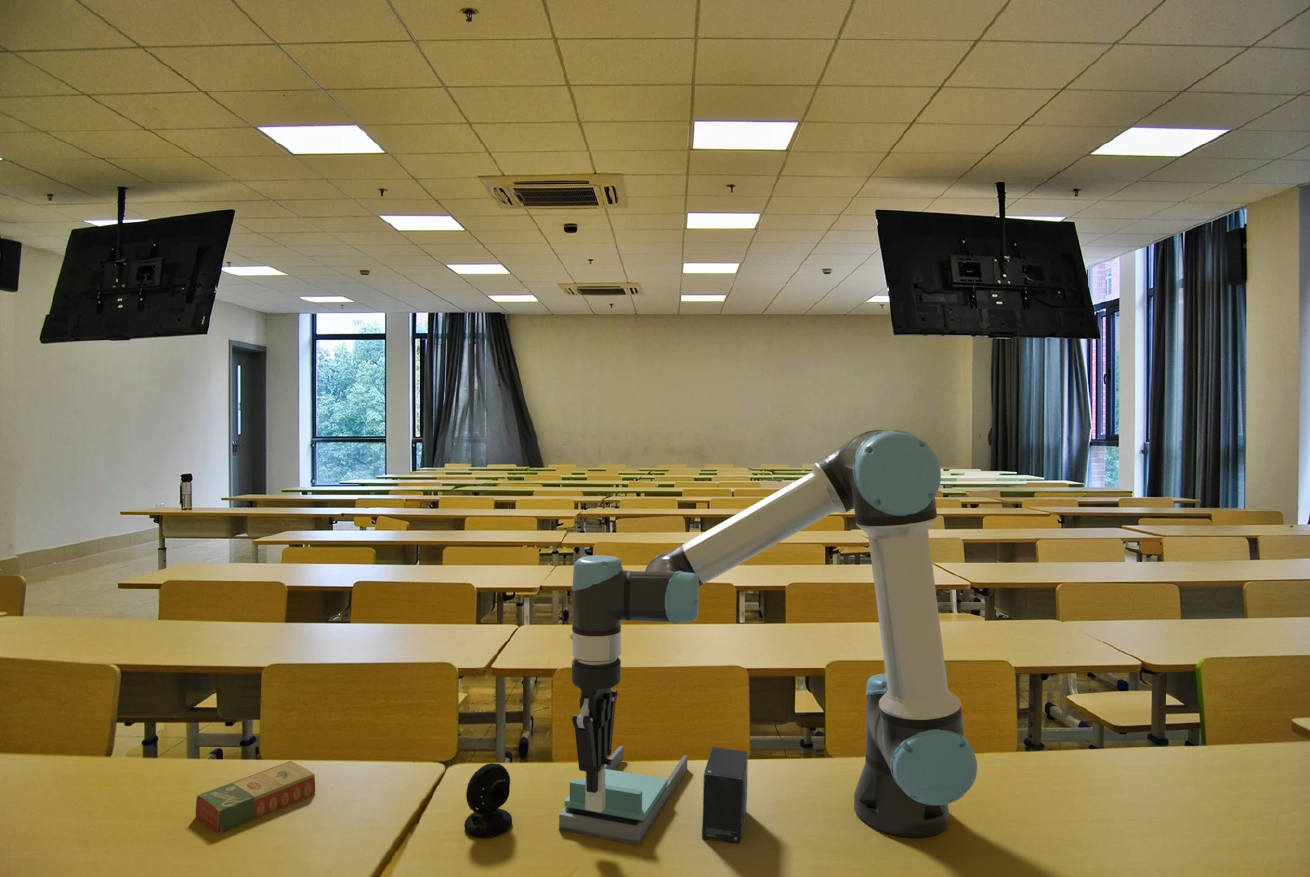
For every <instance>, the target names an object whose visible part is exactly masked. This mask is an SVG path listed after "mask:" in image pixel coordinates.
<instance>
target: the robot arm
mask: <svg viewBox="0 0 1310 877" xmlns="http://www.w3.org/2000/svg"><path fill="white" fill-rule="evenodd" d="M941 472H942V471H941V466H940V462H939V460H938V457H937V456H936V453H935V451H933V449H932V448H931V447H930V446H929V445H928V444H927V443H926V442H925V441H923V439H921V438H919V437H917V436H916V435H914V434H912V433H909V432H907V431H904V430H897V429H894V430H893V429H892V430H891V429H890V430H888V429H886V430H883V429H880V430H879V429H878V430H877V429H874V430H873V429H872V430H867V431H865V432H862V433H860V434H858V435H856V436H854V437H853V438H851V439H850V440H849V441H847V442H845V443H844V444H843V445H842V446H841V447H840V446H839V447H838V448H837V449H836V450H834V451H833V452H831V453H829V454H828V455H826V456H825V457H823V458H822V459H820V460H818V461H817V462H815V463H813V467H812V470H811V471H810V472H809V473H807V474H806V475H804V476H802V477H800V478H799V479H797V480H794V481H793V482H791V483H790V484H788V485H786V486H785V487H782V488H780V489H778V491H775V492H774V493H771V494H770V495H769V496H767V497H765V498H763V499H761V500H760V501H758V502H755V503H754V504H752V505H751V506H749V507H747V508H745V509H743V510H742V511H740V512H738V513H737V514H734V515H733V516H731V517H729V518H727V519H726V520H724V521H723V522H720V523H718V524H716V525H715V526H713V527H712V528H709V529H708V530H706V531H704V532H703V533H701V534H699V535H697V536H695V537H693V538H692V539H690V540H688V541H686V542H684V543H683V544H682V545H680V546H677V547H676V548H674V549H673V550H670V551H669V552H666V553H665V552H664V553H661V554H658V555H657V556H655V557H654V558H652V559H651V560H650V562H649V563H648V564H647V565H646V568H645V570H644V571H643V570H640V571H639V570H637V571H632V570H628V569H627V570H625V569H623V566H622V561H621V559H620V558H619V557H617V556H613V555H605V554H598V555H597V554H595V555H587V556H585V555H584V556H582V557H579V558H578V559H576V561H575V562H574V563H573V571H572V572H573V573H572V574H573V575H572V577H573V578H572V586H571V601H572V602H571V603H572V604H571V608H572V609H571V610H572V611H571V612H572V613H571V614H572V617H571V618H572V621H571V622H572V623H571V624H572V625H571V626H572V627H571V629H572V632H571V634H570V635H569V638H570V640H572V641H571V642H572V645H571V648H572V651H571V655H572V657H574V658H573V659H572V660H571V682H572V684H573V686H574V685H575V687H577V688H579V689H580V691H581V692H580V697H579V709H580V711H579V714H576V713H575V714H573V715H572V717H571V718H572V719H571V721H572V725H573V728H574V732H575V733H574V734H575V743H576V753H577V763H578V771H580V772H581V771H582V772H585V777H586V778H585V777H584V778H585V810H590V811H595V812H601V813H602V811H603V810H604V809H605V766H604V765H611V762H612V760H611V759H609V758H608V756H609V757H610V756H611V755H612V748H613V747H612V746H613V736H614V735H613V734H614V724H615V713H616V704H617V703H616V702H617V699H618V695H619V694H618V693H619V692H618V690H616V689H615V690H614V689H612V688H614V687H616V686H618V685H619V683H620V681H621V678H622V677H621V671H622V670H621V668H622V667H621V662H622V661H621V659H620V656H621V655H622V621H630V622H631V621H633V622H652V623H653V622H655V623H657V622H659V623H672V624H679V623H691V622H692V623H693V622H695V621H696V620H698V616H699V602H700V601H699V597H700V596H699V595H700V594H699V593H700V592H699V591H700V590H699V588H700V587H701V586H703V585H705V584H707V583H708V582H710V581H712V580H714V579H715V578H717V577H719V576H721V575H723V574H724V573H726V572H728V571H730V570H731V569H733V568H736V567H737V566H739V565H741V564H743V563H745V562H746V561H748V560H750V559H751V558H753V557H756V556H757V555H759V554H761V553H763V552H764V551H766V550H768V549H770V548H771V547H773V546H775V545H777V544H779V543H780V542H783V541H784V540H786V539H787V538H790V537H792V536H793V535H795V534H797V533H799V532H801V531H802V530H805V529H806V528H808V527H809V526H812V525H813V524H816V523H817V522H819V521H820V520H823V519H824V518H826V517H827V516H830V515H831V514H834V513H840V514H846V513H848V512H849V511H851V510H853V509H854V516H855V517H854V518H855V525H856V527H858V528H859V529H860V530H862V531H863V532H864V533H865V534H866V535H867V537H868V546H869V554H870V560H871V561H870V562H871V569H872V576H873V583H874V584H873V585H874V586H873V587H874V593H875V599H876V601H875V602H876V608H877V609H876V611H877V615H878V623H879V624H878V625H879V631H880V633H879V634H880V640H881V649H882V656H883V664H884V673H878V674H874V675H871V677H869V678H868V679H867V682H866V692H865V693H864V694H865V695H864V696H865V760H864V764H863V768H862V770H861V773H860V775H859V776H860V777H859V779H858V782H857V785H856V788H855V790H854V794H853V810H854V812H855V814H856V815H857V817H858V818H859V819H860V820H862V821H863V822H864V824H867V825H868V826H870V827H872V828H874V829H876V830H878V831H881V832H883V833H887V834H891V835H894V836H900V837H906V838H927V837H932V836H936V835H939V834H940V833H942V832H944V831H946V829H947V828H948V827H949V823H950V821H949V818H950V814H949V813H950V809H949V804H952V803H954V802H956V801H958V800H960V799H961V798H963V797H964V796H965V794H966V793H967V792H968V791H970V790H971V789H972V787H973V785H974V783H975V780H976V778H977V775H978V761H977V760H978V759H977V756H976V754H975V752H974V748H973V747H972V745H971V743H970V742H969V741H968V740H967V739H966V734H965V727H964V726H965V725H964V721H963V720H964V718H963V710H962V704H961V698H959V697H958V696H957V695H956V694H955V693H953V692H952V691H950V690H949V688H948V680H947V670H946V664H945V663H946V662H945V656H944V646H943V638H942V632H941V622H940V616H939V614H940V613H939V608H938V607H939V606H938V599H937V591H936V584H935V576H934V568H933V560H932V559H933V558H932V553H931V552H932V550H931V543H930V534H929V530H930V528H931V527H932V526H933V525H934V523H935V522H936V521H938V512H937V503H936V495H937V493H938V491H939V489H940V486H941V481H942V473H941Z"/></svg>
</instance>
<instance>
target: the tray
mask: <svg viewBox="0 0 1310 877" xmlns="http://www.w3.org/2000/svg"><path fill="white" fill-rule="evenodd" d="M624 749H625V747H624V745H619V746H618V747H617V748H616V749H615V750H614V751H613V753H611V755H610V756H609V757H608V759H611V760H612V762H611V765H604V766H605V769H609V770H615V771H616V768H618V767H619V766H620V764H621V763H622V762H623V761H624V758H625V757H624V756H625V755H624V752H625V750H624ZM687 771H688V755H682V756H681V758H680V760H679V761H678V763H677V764H676V766H675V767H674V769H673V771H672V772H671V774H670V775H669V776H668V778H667V779H668V785H667V786H666V788H665V790H664V791H663V793H662V794H661V796H660V797H659V799H658V800H657V802H656V803H655V805H654V806H653V808H652V809H651V811H650V812H649V814H648V816H647V817H646V819H645V820H644V821H641V820H635V819H630V818H624V817H619V816H613V815H608V814H602V813H597V812H591V811H586V810H580V809H575V808H569V807H565V806H564V808H563V810H562V811H560V813H559V815H558V830H559V831H562V832H568V833H572V834H579V835H583V836H584V835H585V836H589V837H593V838H600V839H604V840H609V841H615V842H620V843H625V844H631V845H634V846H635V845H636V846H640V845H641V844H642V842H643V841H644V839H645V838H646V835H648V832H649V831H650V830H651V828H652V827H653V825H654V823H655V822H656V820H657V818H658V817H659V815H660V814H661V812H662V811H663V809H664V807H665V805H667V802H668V801H669V799H670V798H671V796H672V794H673V793H674V792H675V789H676V788H677V786H678V785H679V783H680V782H681V780H682V779H683V777H684V775H685V773H687Z"/></svg>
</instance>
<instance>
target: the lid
mask: <svg viewBox="0 0 1310 877" xmlns="http://www.w3.org/2000/svg"><path fill="white" fill-rule="evenodd" d="M585 778H586V776H584V778H583V780H578V779H572V780H571V781H569V795H568V796H567V797H566V799H564V808H565V807H569V808H575V809H580V810H585ZM667 785H668V778H663V777H658V776H652V775H646V774H645V775H644V774H639V773H632V772H627V771H626V772H625V771H621V770H616V769H615V770H609V769H605V809H604V810H603V811H602V814H608V815H613V816H619V817H624V818H630V819H635V820H641V821H644V820H645V819H646V817H647V816H648V814H649V812H650V811H651V809H652V808H653V806H654V805H655V803H656V802H657V800H658V799H659V797H660V796H661V794H662V793H663V791H664V790H665V788H666V786H667ZM586 811H590V810H586ZM591 812H595V811H591ZM597 813H601V812H597Z"/></svg>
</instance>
